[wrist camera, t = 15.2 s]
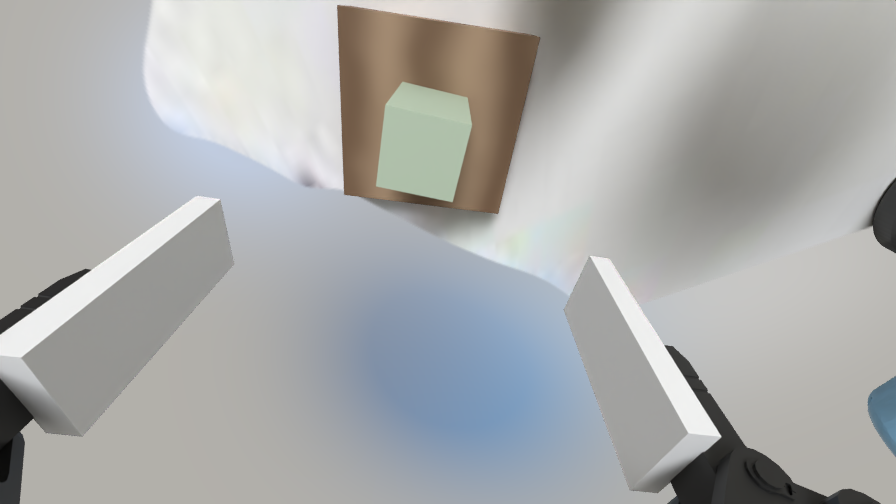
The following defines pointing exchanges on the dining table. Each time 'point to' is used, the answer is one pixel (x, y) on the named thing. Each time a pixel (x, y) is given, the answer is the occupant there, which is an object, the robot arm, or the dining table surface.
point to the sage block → (423, 141)
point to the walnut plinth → (441, 68)
